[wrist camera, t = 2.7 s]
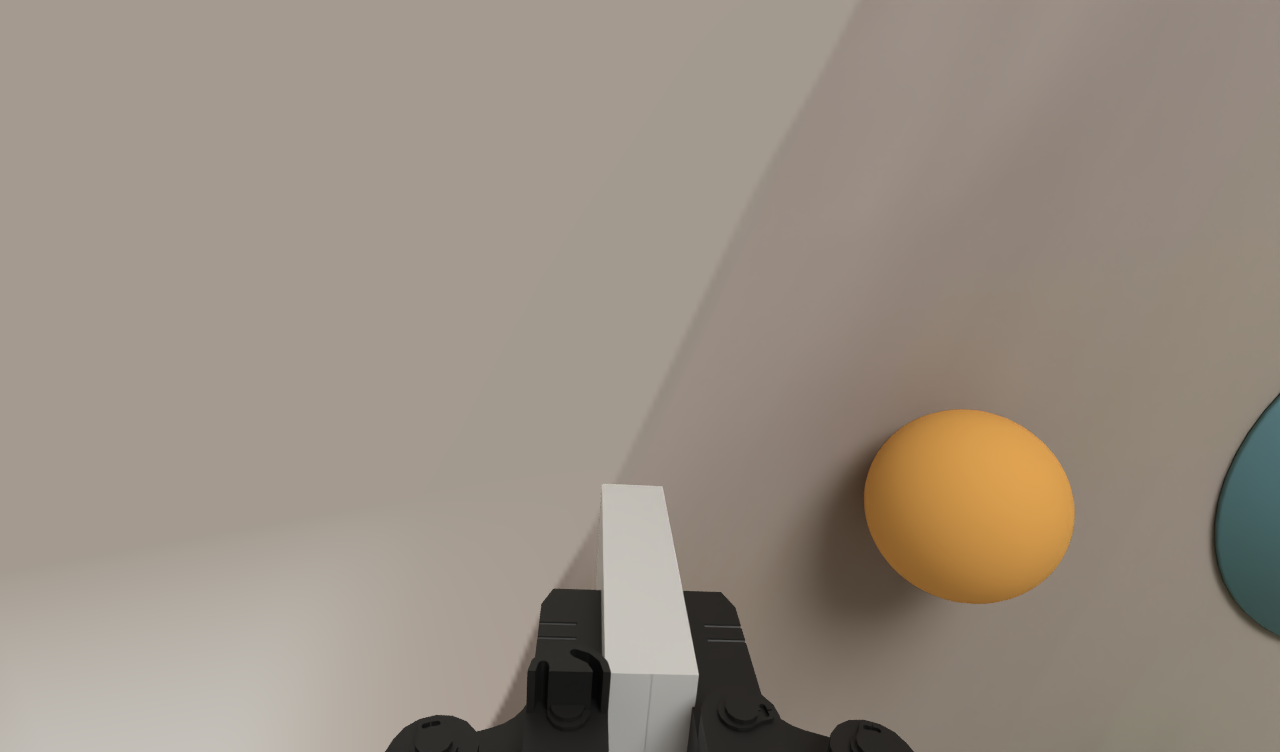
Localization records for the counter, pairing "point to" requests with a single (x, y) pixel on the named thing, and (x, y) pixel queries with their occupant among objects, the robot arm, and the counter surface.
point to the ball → (969, 506)
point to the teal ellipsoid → (1253, 523)
